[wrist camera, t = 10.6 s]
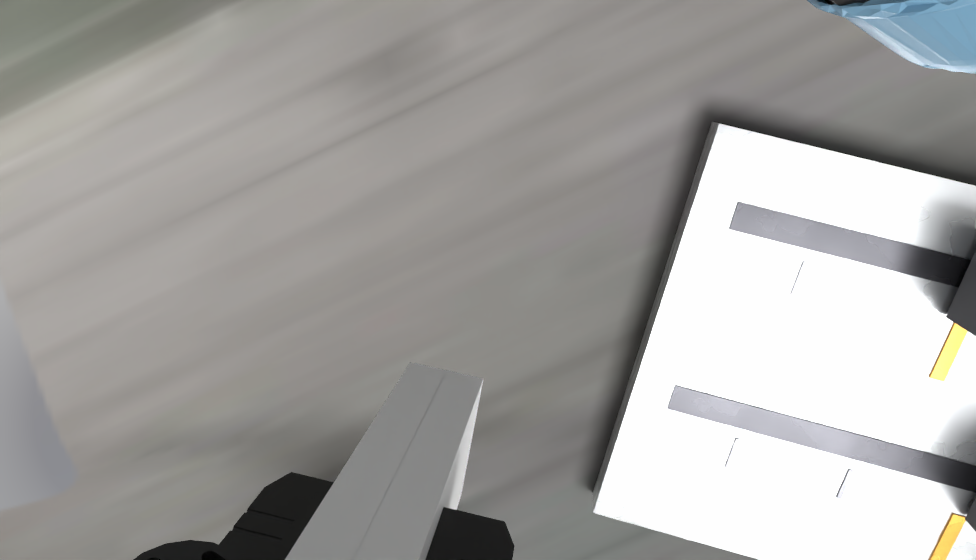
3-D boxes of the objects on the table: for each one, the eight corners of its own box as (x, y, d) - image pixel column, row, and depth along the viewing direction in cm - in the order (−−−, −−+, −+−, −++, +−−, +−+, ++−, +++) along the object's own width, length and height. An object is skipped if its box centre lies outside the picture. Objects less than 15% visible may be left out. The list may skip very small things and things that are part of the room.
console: (711, 121, 35) (719, 123, 32) (1207, 242, 33) (1248, 252, 31) (592, 492, 41) (593, 513, 39) (1004, 608, 39) (1026, 636, 37)
